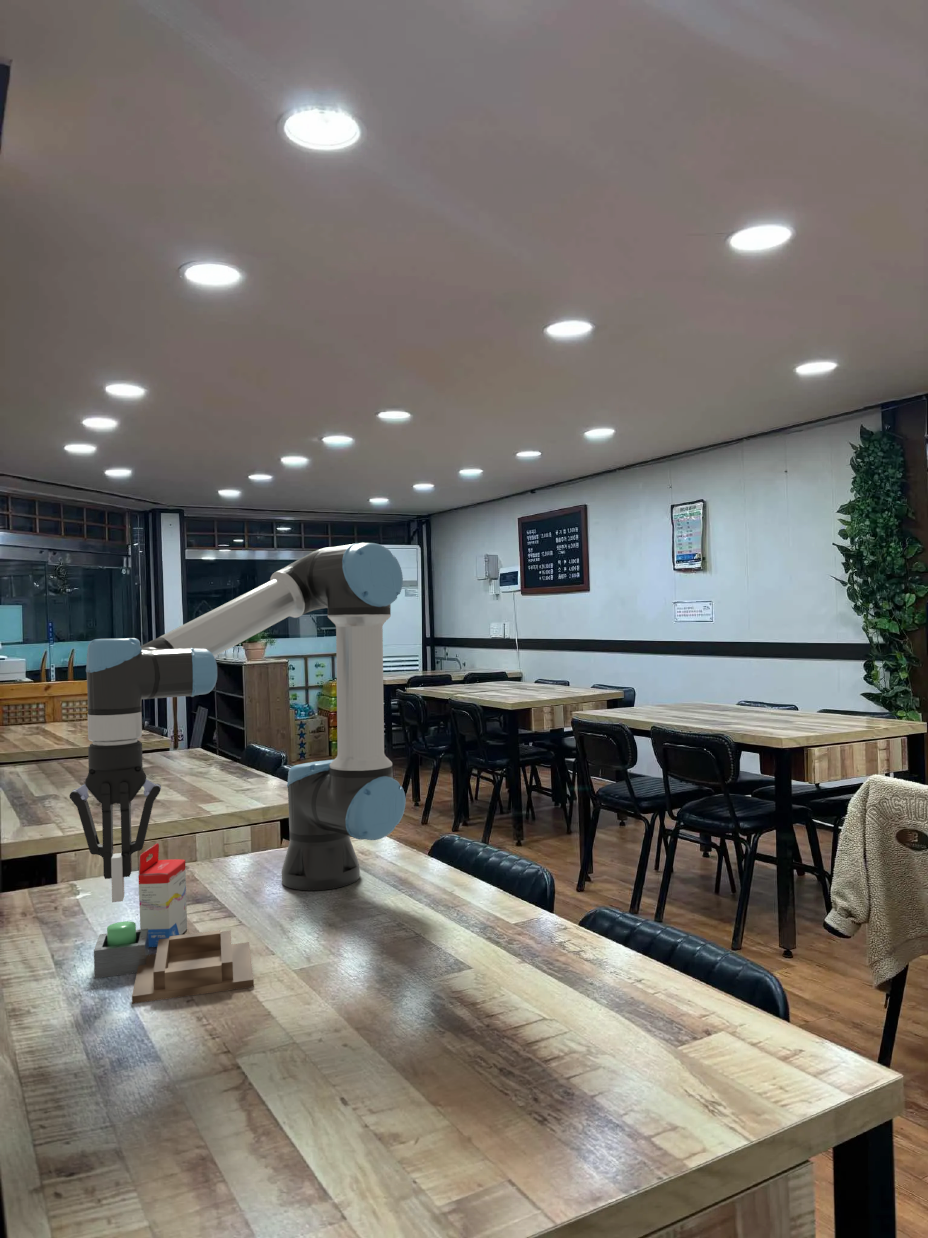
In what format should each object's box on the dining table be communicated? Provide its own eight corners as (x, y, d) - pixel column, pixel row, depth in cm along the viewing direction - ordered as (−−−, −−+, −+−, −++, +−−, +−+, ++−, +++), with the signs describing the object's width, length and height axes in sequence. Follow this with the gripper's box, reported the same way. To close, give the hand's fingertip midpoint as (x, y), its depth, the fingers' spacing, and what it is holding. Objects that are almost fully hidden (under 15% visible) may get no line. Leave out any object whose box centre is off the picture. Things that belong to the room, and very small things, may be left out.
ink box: (170, 948, 140) (167, 855, 140) (139, 948, 140) (136, 855, 140) (188, 928, 148) (185, 841, 148) (159, 929, 149) (156, 841, 148)
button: (137, 938, 136) (136, 920, 136) (135, 947, 132) (134, 928, 132) (109, 941, 134) (108, 923, 134) (106, 951, 131) (105, 932, 131)
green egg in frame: (148, 954, 137) (148, 928, 137) (145, 971, 131) (144, 944, 131) (100, 960, 136) (99, 934, 135) (94, 978, 129) (93, 951, 129)
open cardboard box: (249, 948, 139) (248, 926, 139) (253, 986, 124) (253, 962, 124) (140, 962, 134) (139, 939, 134) (132, 1003, 120) (131, 978, 120)
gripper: (162, 736, 138) (165, 887, 138) (71, 740, 135) (74, 896, 135) (159, 742, 131) (162, 902, 131) (64, 747, 127) (67, 911, 127)
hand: (118, 899), depth 133 cm, fingers closed
